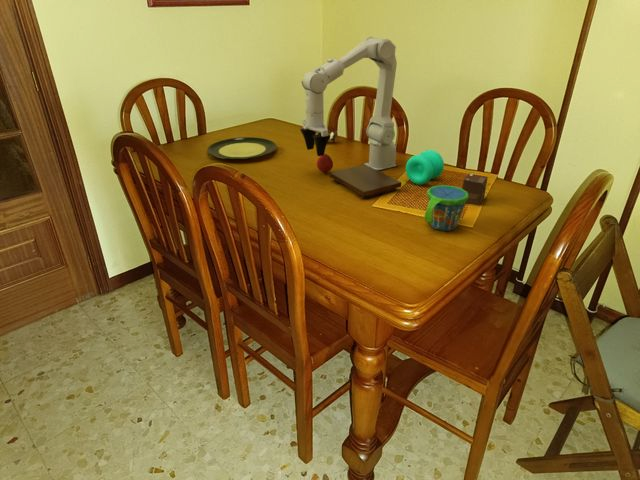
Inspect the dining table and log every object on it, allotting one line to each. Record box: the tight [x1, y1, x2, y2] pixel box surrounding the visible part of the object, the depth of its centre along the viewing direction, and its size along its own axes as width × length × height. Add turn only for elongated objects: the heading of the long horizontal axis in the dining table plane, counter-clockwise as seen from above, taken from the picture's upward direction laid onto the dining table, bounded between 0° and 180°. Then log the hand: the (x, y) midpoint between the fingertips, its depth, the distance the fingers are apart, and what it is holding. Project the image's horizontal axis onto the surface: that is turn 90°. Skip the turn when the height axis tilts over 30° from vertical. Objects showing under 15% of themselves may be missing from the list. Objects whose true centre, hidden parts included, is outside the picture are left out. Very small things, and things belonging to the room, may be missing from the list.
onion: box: [316, 151, 334, 175], centre depth 159 cm, size 6×6×8 cm
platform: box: [329, 164, 402, 199], centre depth 151 cm, size 15×20×3 cm
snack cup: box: [423, 184, 469, 232], centre depth 123 cm, size 16×10×10 cm
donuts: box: [405, 149, 445, 185], centre depth 152 cm, size 10×10×10 cm
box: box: [461, 173, 489, 206], centre depth 138 cm, size 6×6×7 cm
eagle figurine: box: [314, 128, 338, 144], centre depth 192 cm, size 8×7×9 cm
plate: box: [206, 136, 278, 161], centre depth 182 cm, size 28×28×2 cm
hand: (315, 152), depth 151 cm, fingers open, 7 cm apart
